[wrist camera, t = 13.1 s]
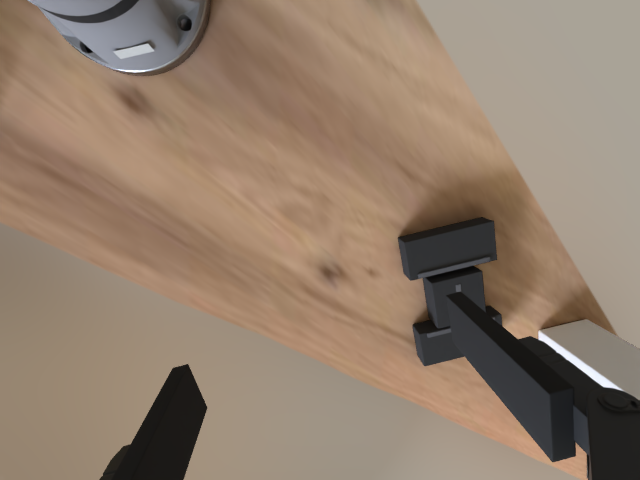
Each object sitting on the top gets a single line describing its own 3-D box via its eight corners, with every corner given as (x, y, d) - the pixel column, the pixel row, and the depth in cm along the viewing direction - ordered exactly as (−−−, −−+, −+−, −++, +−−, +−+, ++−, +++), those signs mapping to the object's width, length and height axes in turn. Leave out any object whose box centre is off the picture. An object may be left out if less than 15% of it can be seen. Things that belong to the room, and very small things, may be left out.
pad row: (397, 237, 40) (404, 243, 37) (482, 216, 40) (495, 221, 38) (417, 355, 45) (424, 367, 42) (492, 336, 45) (505, 347, 42)
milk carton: (585, 317, 45) (782, 427, 27) (585, 359, 47) (769, 489, 29) (537, 329, 45) (702, 447, 27) (538, 371, 47) (694, 508, 29)
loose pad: (422, 274, 42) (431, 283, 39) (469, 263, 42) (482, 271, 39) (428, 317, 43) (438, 329, 40) (473, 306, 43) (487, 317, 40)
